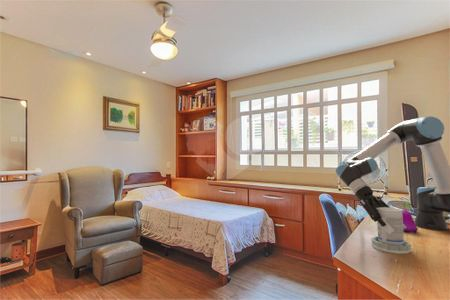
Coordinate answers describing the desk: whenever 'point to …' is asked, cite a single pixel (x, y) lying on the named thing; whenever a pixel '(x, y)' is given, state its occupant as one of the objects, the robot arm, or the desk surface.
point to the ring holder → (391, 246)
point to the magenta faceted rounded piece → (408, 221)
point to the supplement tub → (395, 221)
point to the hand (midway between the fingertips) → (397, 230)
